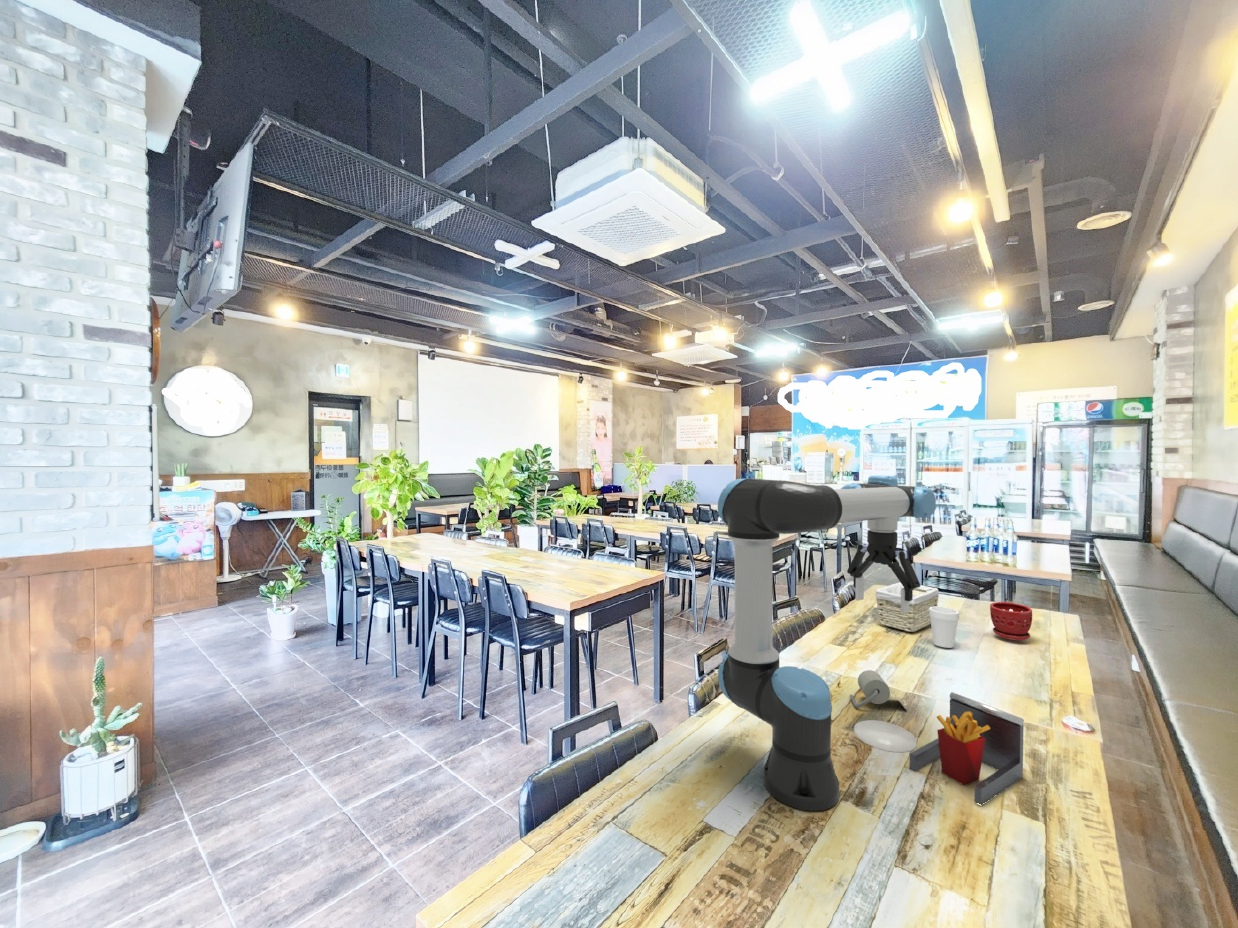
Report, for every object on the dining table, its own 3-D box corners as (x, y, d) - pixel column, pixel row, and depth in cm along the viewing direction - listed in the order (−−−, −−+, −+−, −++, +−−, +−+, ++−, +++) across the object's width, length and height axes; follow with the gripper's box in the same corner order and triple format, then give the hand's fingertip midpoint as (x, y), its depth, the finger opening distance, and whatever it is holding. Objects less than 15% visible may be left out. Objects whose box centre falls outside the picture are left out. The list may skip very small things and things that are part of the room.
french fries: (935, 772, 114) (936, 706, 114) (959, 764, 118) (960, 699, 117) (975, 797, 106) (977, 726, 106) (1000, 787, 110) (1001, 717, 109)
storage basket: (913, 634, 202) (913, 597, 202) (873, 623, 216) (873, 588, 215) (940, 623, 216) (940, 588, 216) (901, 613, 230) (901, 580, 229)
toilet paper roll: (910, 715, 139) (881, 678, 141) (877, 736, 141) (848, 699, 142) (897, 698, 149) (870, 663, 151) (866, 717, 151) (840, 683, 153)
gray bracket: (981, 808, 103) (982, 741, 103) (909, 770, 115) (910, 710, 115) (1022, 778, 112) (1023, 717, 112) (952, 746, 125) (953, 691, 124)
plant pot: (989, 628, 209) (990, 599, 209) (1030, 635, 201) (1031, 605, 201) (989, 637, 199) (990, 607, 198) (1033, 645, 191) (1033, 613, 191)
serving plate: (895, 760, 119) (895, 757, 119) (842, 732, 131) (842, 729, 131) (928, 743, 126) (928, 739, 126) (875, 717, 138) (875, 715, 138)
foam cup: (958, 643, 193) (958, 608, 193) (959, 651, 185) (959, 615, 185) (929, 638, 198) (929, 604, 198) (928, 645, 190) (928, 611, 190)
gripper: (935, 535, 134) (934, 615, 134) (851, 524, 156) (850, 593, 156) (919, 537, 130) (918, 620, 131) (835, 525, 152) (834, 596, 153)
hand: (881, 605), depth 144 cm, fingers open, 13 cm apart
